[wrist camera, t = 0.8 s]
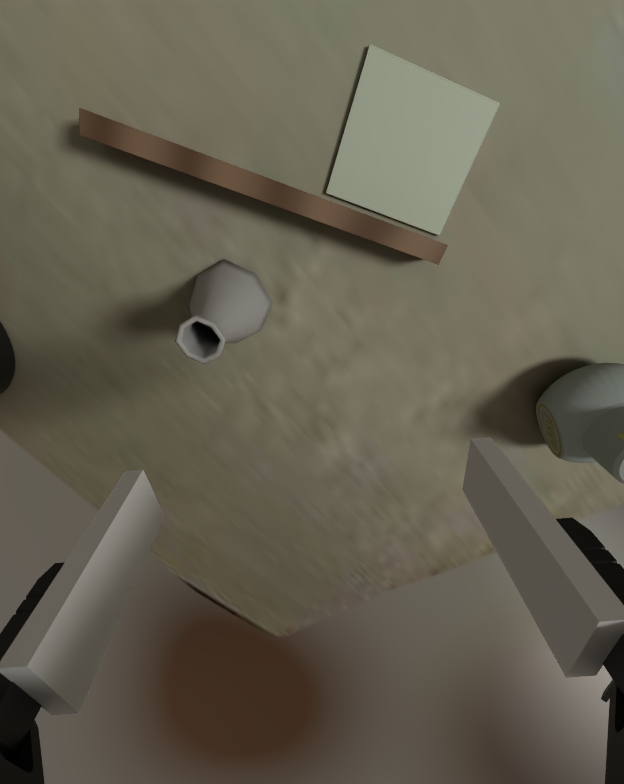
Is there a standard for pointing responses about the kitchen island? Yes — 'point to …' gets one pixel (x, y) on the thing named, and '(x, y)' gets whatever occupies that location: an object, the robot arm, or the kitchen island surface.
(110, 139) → the rail
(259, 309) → the flask
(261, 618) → the kitchen island surface
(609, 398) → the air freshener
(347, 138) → the board
